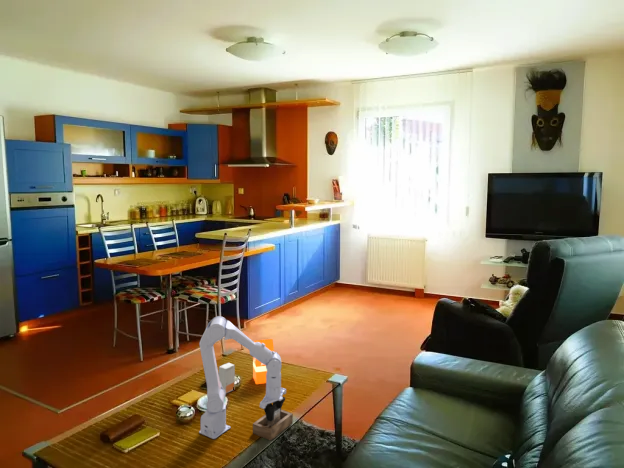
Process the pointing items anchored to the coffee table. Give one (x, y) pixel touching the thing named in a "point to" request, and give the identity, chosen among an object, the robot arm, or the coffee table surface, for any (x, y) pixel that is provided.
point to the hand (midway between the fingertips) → (273, 417)
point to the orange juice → (260, 368)
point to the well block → (272, 431)
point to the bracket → (274, 416)
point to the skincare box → (227, 376)
